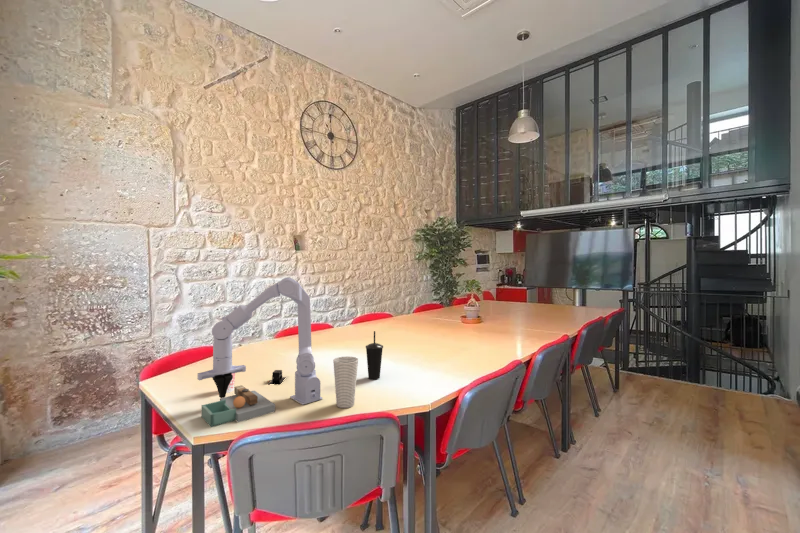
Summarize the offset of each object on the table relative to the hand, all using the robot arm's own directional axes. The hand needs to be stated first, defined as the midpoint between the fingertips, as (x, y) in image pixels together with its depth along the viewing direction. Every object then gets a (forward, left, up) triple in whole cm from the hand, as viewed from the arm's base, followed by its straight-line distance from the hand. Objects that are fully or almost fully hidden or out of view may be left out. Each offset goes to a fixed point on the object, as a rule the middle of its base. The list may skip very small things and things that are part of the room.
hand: (222, 396), depth 115 cm
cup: (-27, -31, -3) cm, 41 cm away
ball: (-11, -2, +1) cm, 11 cm away
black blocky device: (+14, -25, -4) cm, 29 cm away
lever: (-5, -6, 0) cm, 8 cm away
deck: (-7, -5, -3) cm, 10 cm away
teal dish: (-9, +4, -3) cm, 10 cm away
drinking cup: (-11, -57, -3) cm, 58 cm away
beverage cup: (+15, -6, -3) cm, 17 cm away
